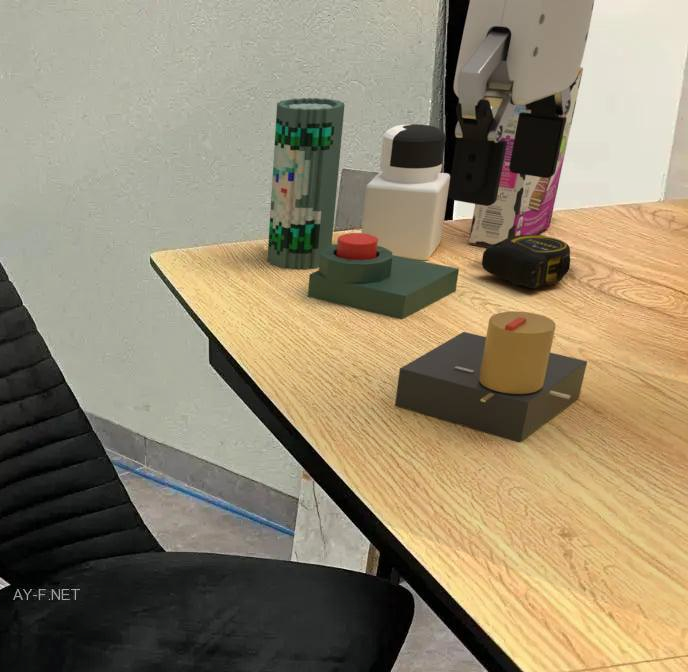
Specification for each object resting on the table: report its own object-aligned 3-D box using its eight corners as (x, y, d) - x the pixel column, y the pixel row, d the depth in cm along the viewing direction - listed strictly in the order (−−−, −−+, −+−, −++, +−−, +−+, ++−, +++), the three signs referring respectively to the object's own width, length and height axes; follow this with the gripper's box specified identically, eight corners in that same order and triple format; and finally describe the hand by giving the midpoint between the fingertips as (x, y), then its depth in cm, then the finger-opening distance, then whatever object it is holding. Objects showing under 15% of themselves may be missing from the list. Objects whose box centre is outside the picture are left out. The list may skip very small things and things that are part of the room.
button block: (455, 291, 108) (462, 249, 106) (400, 320, 102) (406, 276, 99) (361, 271, 114) (365, 230, 111) (303, 297, 107) (307, 254, 105)
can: (256, 260, 117) (265, 103, 109) (297, 248, 120) (309, 95, 112) (299, 273, 113) (312, 112, 105) (341, 261, 116) (356, 103, 108)
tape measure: (475, 278, 111) (481, 239, 109) (527, 267, 113) (534, 229, 111) (527, 298, 106) (535, 258, 104) (580, 285, 108) (589, 246, 106)
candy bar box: (512, 253, 117) (544, 80, 108) (466, 245, 120) (493, 76, 111) (553, 228, 124) (586, 64, 115) (508, 221, 127) (537, 60, 118)
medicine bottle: (441, 243, 121) (458, 122, 114) (428, 262, 116) (445, 136, 109) (374, 236, 124) (387, 118, 117) (358, 254, 118) (371, 132, 112)
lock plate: (602, 404, 86) (612, 364, 84) (533, 458, 78) (542, 415, 77) (457, 367, 92) (463, 329, 91) (382, 413, 85) (387, 373, 83)
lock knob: (495, 366, 84) (507, 302, 82) (553, 380, 82) (567, 315, 79) (467, 384, 82) (478, 319, 79) (526, 399, 79) (540, 333, 77)
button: (383, 256, 106) (385, 237, 105) (362, 265, 103) (364, 246, 102) (349, 249, 108) (351, 230, 107) (328, 258, 106) (330, 239, 105)
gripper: (552, -108, 77) (503, 158, 86) (434, -98, 66) (392, 204, 76) (667, -106, 73) (602, 173, 82) (561, -96, 62) (500, 224, 71)
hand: (502, 187), depth 79 cm, fingers open, 9 cm apart
